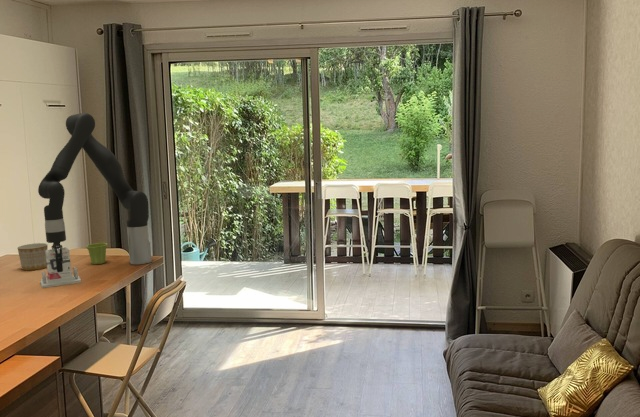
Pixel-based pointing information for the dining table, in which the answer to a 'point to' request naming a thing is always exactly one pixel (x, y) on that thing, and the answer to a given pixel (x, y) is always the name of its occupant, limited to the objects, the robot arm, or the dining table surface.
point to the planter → (33, 256)
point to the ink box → (53, 268)
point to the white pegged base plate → (60, 280)
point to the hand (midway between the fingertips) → (59, 270)
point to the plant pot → (97, 252)
